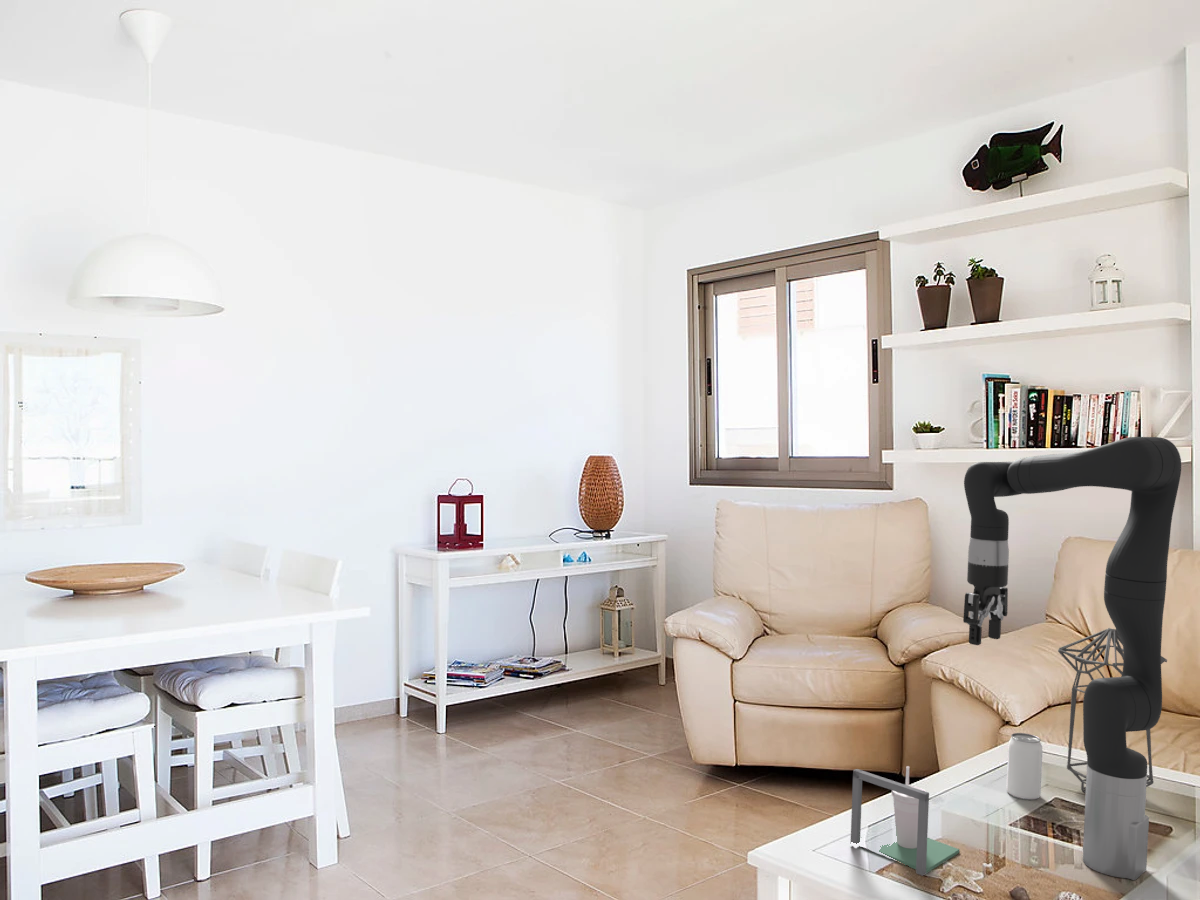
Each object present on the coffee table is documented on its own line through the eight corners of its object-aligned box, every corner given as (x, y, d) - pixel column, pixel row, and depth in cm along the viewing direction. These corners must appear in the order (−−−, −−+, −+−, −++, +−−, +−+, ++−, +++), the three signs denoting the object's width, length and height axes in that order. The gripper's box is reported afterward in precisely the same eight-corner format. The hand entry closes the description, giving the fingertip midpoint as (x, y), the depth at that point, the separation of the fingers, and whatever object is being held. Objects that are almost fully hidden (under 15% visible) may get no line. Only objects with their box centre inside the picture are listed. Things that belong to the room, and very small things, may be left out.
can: (1045, 801, 195) (1048, 743, 194) (1014, 800, 195) (1016, 742, 194) (1032, 788, 201) (1034, 732, 201) (1001, 787, 201) (1003, 731, 201)
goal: (959, 852, 171) (962, 775, 170) (922, 875, 162) (925, 794, 161) (888, 826, 181) (891, 753, 180) (850, 846, 172) (853, 770, 171)
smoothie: (897, 832, 177) (900, 758, 176) (931, 843, 173) (935, 767, 172) (883, 844, 172) (886, 767, 171) (918, 855, 168) (921, 777, 167)
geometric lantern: (1107, 814, 189) (1110, 638, 189) (1050, 785, 204) (1052, 623, 204) (1171, 806, 194) (1174, 634, 193) (1110, 778, 209) (1113, 619, 208)
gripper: (990, 567, 183) (986, 650, 184) (1022, 560, 193) (1018, 639, 194) (953, 561, 189) (949, 643, 189) (986, 555, 198) (982, 633, 199)
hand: (984, 641), depth 191 cm, fingers open, 8 cm apart
